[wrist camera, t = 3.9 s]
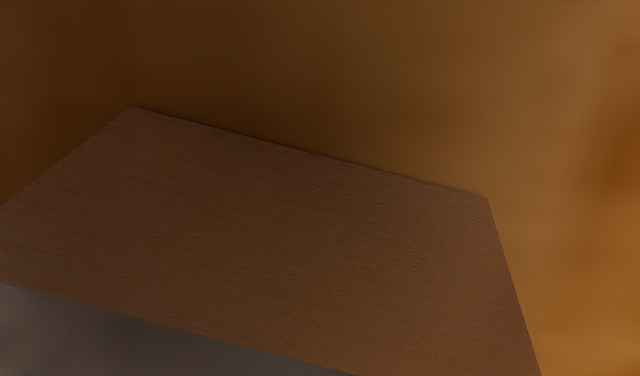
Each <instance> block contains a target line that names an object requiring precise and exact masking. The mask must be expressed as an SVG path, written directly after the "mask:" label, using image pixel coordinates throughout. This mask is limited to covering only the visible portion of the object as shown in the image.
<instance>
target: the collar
mask: <svg viewBox="0 0 640 376" xmlns="http://www.w3.org/2000/svg"><path fill="white" fill-rule="evenodd" d="M0 376H541V373H540V369H539V366H538V363H537V360H536V356H535V353H534V350H533V347H532V343H531V340H530V337H529V334H528V330H527V327H526V324H525V321H524V317H523V314H522V311H521V308H520V304H519V301H518V298H517V295H516V292H515V288H514V285H513V282H512V279H511V275H510V272H509V269H508V266H507V262H506V259H505V256H504V253H503V249H502V246H501V243H500V240H499V236H498V233H497V230H496V227H495V223H494V220H493V217H492V214H491V210H490V207H489V204H488V201H487V198H484V197H480V196H476V195H472V194H468V193H464V192H461V191H457V190H453V189H449V188H445V187H441V186H437V185H434V184H430V183H426V182H422V181H418V180H414V179H410V178H407V177H403V176H399V175H395V174H391V173H387V172H383V171H380V170H376V169H372V168H368V167H364V166H360V165H356V164H353V163H349V162H345V161H341V160H337V159H333V158H329V157H326V156H322V155H318V154H314V153H310V152H306V151H302V150H299V149H295V148H291V147H287V146H283V145H279V144H275V143H272V142H268V141H264V140H260V139H256V138H252V137H248V136H245V135H241V134H237V133H233V132H229V131H225V130H221V129H218V128H214V127H210V126H206V125H202V124H198V123H194V122H191V121H187V120H183V119H179V118H175V117H171V116H168V115H164V114H160V113H156V112H152V111H148V110H144V109H141V108H137V107H133V106H130V107H129V108H127V109H126V110H125V111H123V112H122V113H121V114H119V115H118V116H117V117H115V118H114V119H113V120H112V121H110V122H109V123H108V124H106V125H105V126H104V127H102V128H101V129H100V130H99V131H97V132H96V133H95V134H93V135H92V136H91V137H89V138H88V139H87V140H86V141H84V142H83V143H82V144H80V145H79V146H78V147H76V148H75V149H74V150H72V151H71V152H70V153H69V154H67V155H66V156H65V157H63V158H62V159H61V160H59V161H58V162H57V163H56V164H54V165H53V166H52V167H50V168H49V169H48V170H46V171H45V172H44V173H43V174H41V175H40V176H39V177H37V178H36V179H35V180H33V181H32V182H31V183H29V184H28V185H27V186H26V187H24V188H23V189H22V190H20V191H19V192H18V193H16V194H15V195H14V196H13V197H11V198H10V199H9V200H7V201H6V202H5V203H3V204H2V205H1V206H0Z"/></svg>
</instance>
